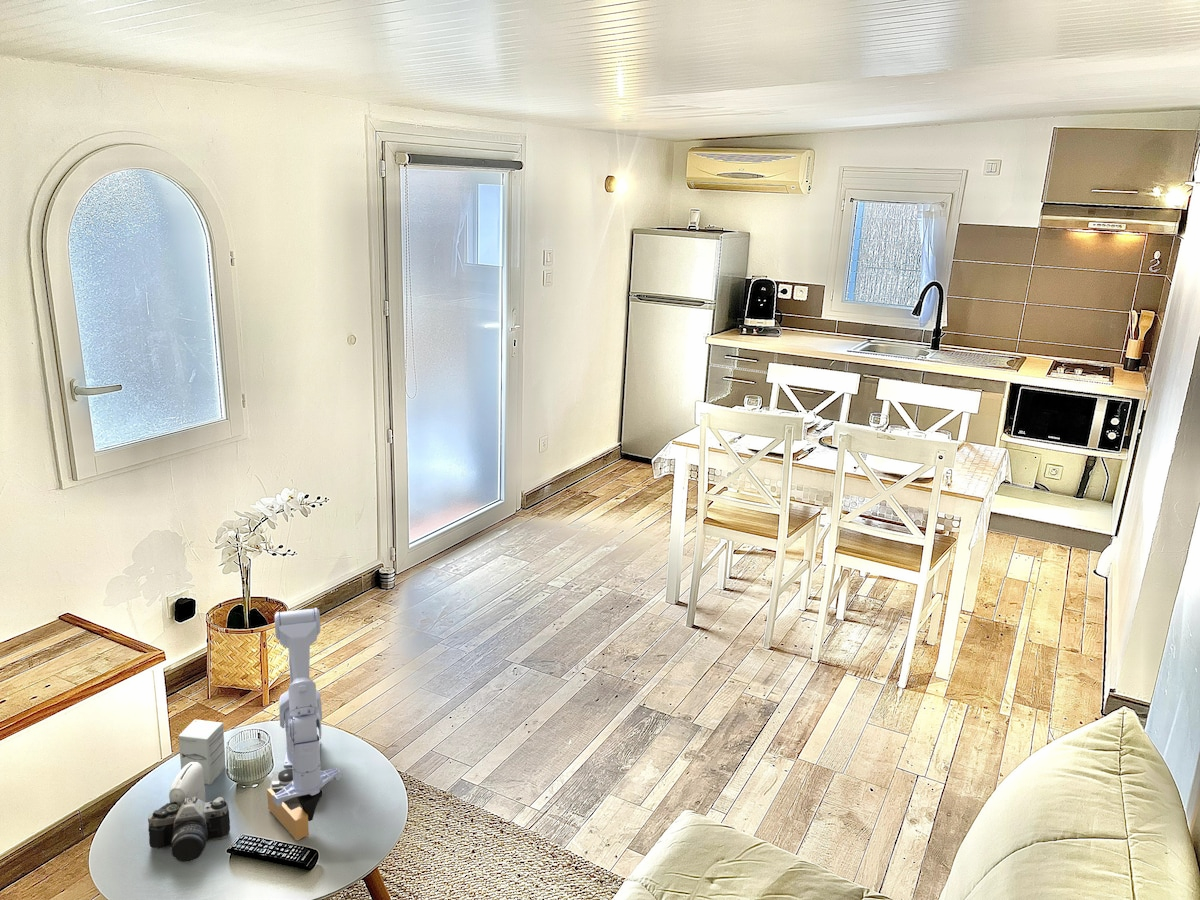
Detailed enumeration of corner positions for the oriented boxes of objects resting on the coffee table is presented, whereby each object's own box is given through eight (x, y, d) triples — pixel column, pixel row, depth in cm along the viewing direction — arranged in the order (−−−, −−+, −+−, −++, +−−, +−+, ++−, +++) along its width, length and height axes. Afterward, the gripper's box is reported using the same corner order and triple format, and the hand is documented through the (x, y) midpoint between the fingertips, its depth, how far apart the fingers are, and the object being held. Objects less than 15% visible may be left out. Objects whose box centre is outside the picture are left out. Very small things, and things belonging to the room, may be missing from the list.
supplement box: (180, 782, 207) (176, 735, 204) (198, 763, 214) (194, 717, 211) (210, 786, 207) (206, 739, 203) (227, 767, 214) (223, 721, 210)
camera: (144, 873, 180) (140, 832, 177) (152, 839, 189) (148, 799, 186) (228, 858, 185) (225, 818, 182) (231, 826, 194) (228, 787, 191)
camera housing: (273, 788, 207) (272, 768, 205) (318, 784, 209) (317, 764, 207) (270, 806, 201) (269, 785, 199) (316, 801, 203) (315, 781, 202)
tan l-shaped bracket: (280, 802, 201) (279, 784, 200) (308, 834, 192) (307, 815, 191) (268, 808, 199) (267, 789, 198) (296, 840, 190) (295, 820, 189)
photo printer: (189, 835, 191) (185, 785, 187) (169, 834, 190) (165, 785, 187) (208, 804, 200) (205, 756, 197) (189, 803, 200) (185, 756, 197)
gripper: (282, 788, 182) (285, 843, 186) (346, 760, 192) (347, 813, 196) (267, 772, 187) (270, 826, 191) (330, 745, 197) (332, 797, 200)
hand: (308, 818), depth 193 cm, fingers closed
